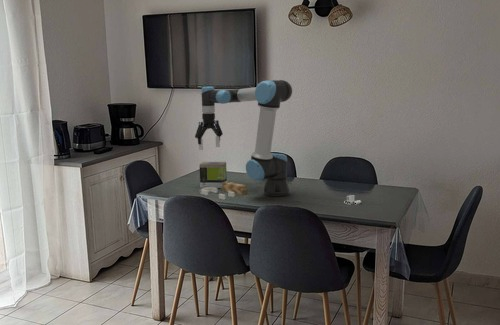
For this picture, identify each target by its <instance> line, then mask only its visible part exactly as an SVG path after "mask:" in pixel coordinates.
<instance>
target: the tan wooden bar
mask: <svg viewBox="0 0 500 325" xmlns="http://www.w3.org/2000/svg"><path fill="white" fill-rule="evenodd" d="M221 189H222V191H223V192H227V193H228V192H229V191H230V192H235V194H236V195H241V196H245V195H247V194H248V185H245V184H241V183H238V182H231V181H228V180H227V182H222V188H221Z"/></svg>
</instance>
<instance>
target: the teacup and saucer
mask: <svg viewBox="0 0 500 325" xmlns="http://www.w3.org/2000/svg"><path fill="white" fill-rule="evenodd" d="M345 201H347V202H348V203H349V202H350V203H349V204H355V203H356V204H355V205H359V204H361V203H362V200H361V199H360V200H359V199H358V200H355V195H354V194H353V195H352V194H349V195H347V196H346V200H344V201H343V203H344V204H347V202H346V203H345ZM347 205H348V204H347Z"/></svg>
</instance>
